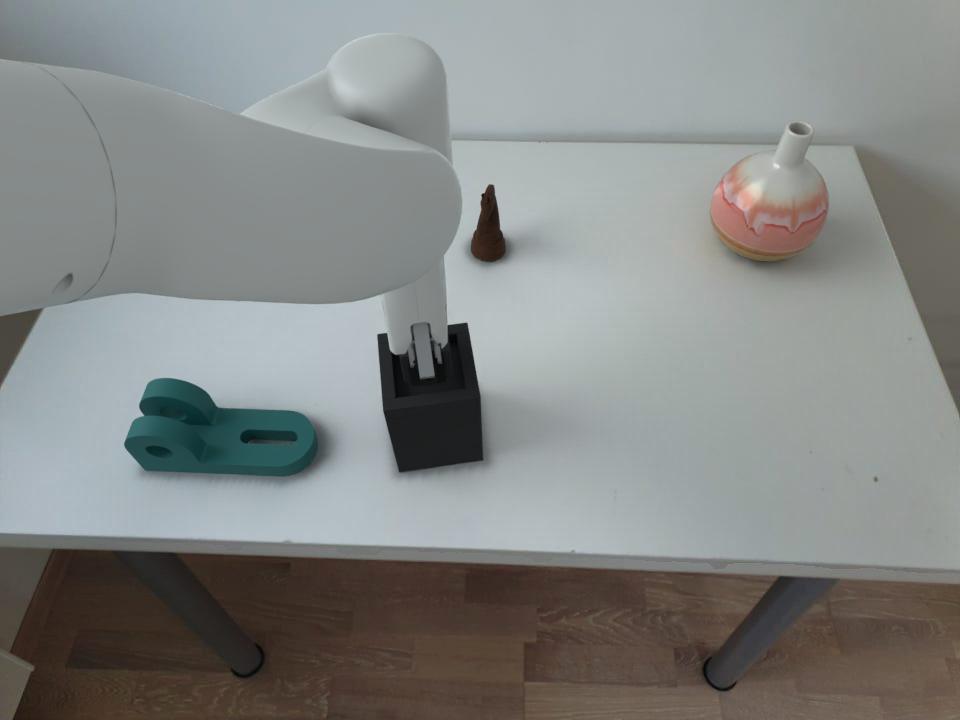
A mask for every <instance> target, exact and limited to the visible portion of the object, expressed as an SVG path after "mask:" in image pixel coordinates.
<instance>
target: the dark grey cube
mask: <svg viewBox="0 0 960 720" xmlns="http://www.w3.org/2000/svg"><path fill="white" fill-rule="evenodd" d="M430 345H431V350H433V349H434V344H433V343H432V344H430ZM440 351H441V352H443V355H444V363H445V372H446V377H447V376H453V371H452V360H451V350H450V343H449V337H448V342H447V344H446V345H445V346H444V347H443V348H441V346H440ZM414 352H416V346H414ZM399 356H400V361H401V366H402V372H403V377H404V381H405V382H410V381H411V379H410V374H409V368H408V363H407V357H409V355H408V350H407V352H406V353H405V354H399Z"/></svg>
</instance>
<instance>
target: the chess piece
mask: <svg viewBox="0 0 960 720" xmlns="http://www.w3.org/2000/svg"><path fill="white" fill-rule="evenodd" d="M480 196H481V200H480V212H479V216H478V219H477V223H476V224H477V225H476V229H474V232H473V234H472V238H471V240H470V252H471V254H472V255H473V257H474V258H476V259H477V260H478V261H481V262H485V263H487V262H496V261H497V260H498V261H499V260H500V259H501V258H502V257H503V256H504V254H505V253H506V249H507V247H506V246H507V245H506V240H505V237H504V233H503V231H502V229H501V220H500V212H499V205H498V200H497V196H496V188H495V185H494V184H491V183H489V184H488V185H487V187H486V188H485V191H484V192H482V193H481V195H480Z"/></svg>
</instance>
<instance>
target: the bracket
mask: <svg viewBox="0 0 960 720" xmlns="http://www.w3.org/2000/svg"><path fill="white" fill-rule="evenodd" d="M138 408H139V410H140V412H141V414H142V416H138V417H136V418H134V420H132V422H131V424H130V427H129V430H128V432H127V435H126V438H125V440H124V441H123V445H124V449H125V450H126V452H128V453H129V455H130V456H131V457H132V458H133V459H134V460H135V461H136V462H137V464H138V465H139V466H140V467H141V468H142V469H143V470H144V471H146V472H166V473H167V472H168V473H191V474H195V473H196V474H216V475H238V476H240V475H241V476H242V475H243V476H262V477H263V476H266V477H289V476H293V475H295V474H298V473H301V472H302V471H303V470H305V469H306V468H307V467H308V466H310V464H311V463H312V462H313V461H314V459H315V458H316V455H317V453H318V451H319V438H318V435H317V433H316V431H315V428H314V426H313V423H312V421H310V419H309V418H308V417H307V416H306V415H305V414H303V413H301V412H299V411H295V410H290V409H289V410H287V409H285V410H284V409H264V408H263V409H261V408H260V409H259V408H234V407H233V408H231V407H219V406H217V404H216V402H215V401H214V400H213V399H212V397H211V395H210V394H209V393H208V392H207V391H206V390H205V389H203V388H202V387H200V386H198V385H197V384H194V383H193V382H189V381H186V380H183V379H178V378H172V377H160V378H155V379H152V380H150V381H148V382H147V385H145V388H144V391H143V394H142V396H141V399H140V402H139V404H138ZM255 440H256V441H257V440H258V441H280V442H281V441H282V442H293V443H292V444H276V443H275V444H273V443H250V442H251V441H255Z"/></svg>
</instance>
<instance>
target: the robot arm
mask: <svg viewBox="0 0 960 720" xmlns="http://www.w3.org/2000/svg"><path fill="white" fill-rule="evenodd" d="M449 97H450V95H449V83H448V76H447V71H446V68H445V66H444V62H443V60H442V58H441V57H440V55H439V53H438V52H437V51H436V50H435V49H434V48H433V47H432V46H431V45H429V43H427V42H425V41H424V40H421V39H418V38H416V37H414V36H411V35H407V34H404V33H395V32H382V33H381V32H380V33H373V34H368V35H365V36H361V37H358V38H355V39H353V40H351V41H349V42H347V43H346V44H345V45H343V46H341V47H340V48H339V49H338V50H337V51H335V52H334V54H333V55H332V56H331V58H330V59H329V61H328V63H327V64H326V67H325V68H323V69H322V70H320V71H318V72H316V73H315V74H313V75H311V76H309V77H307V78H304V79H302V80H301V81H298V82H296V83H294V84H292V85H290V86H288V87H285V88H284V89H281V90H278V91H277V92H275V93H273V94H270V95H267V96H266V97H264V98H262V99H260V100H259V101H257V102H255V103H253V104H252V105H250V106H249V107H247V108H245V109H244V110H243V111H242V112H240V113H238V112H236V111H233V110H230V109H227V108H224V107H221V106H218V105H216V104H213V103H210V102H208V101H205V100H202V99H199V98H196V97H193V96H191V95H188V94H185V93H181V92H178V91H176V90H172V89H168V88H165V87H161V86H157V85H154V84H152V83H151V84H150V83H147V82H143V81H139V80H136V79H132V78H128V77H124V76H120V75H116V74H111V73H107V72H103V71H98V70H92V69H85V68H77V67H69V66H68V67H67V66H59V65H51V64H44V63H37V62H30V61H22V60H10V59H4V58H0V317H3V316H8V315H9V316H10V315H15V314H19V313H25V312H30V311H35V310H40V309H41V310H42V309H46V308H51V307H55V306H62V305H66V304H67V305H68V304H72V303H78V302H83V301H88V300H89V301H90V300H94V299H98V298H99V299H100V298H104V297H111V296H116V295H127V294H128V295H129V294H142V295H151V296H153V295H154V296H159V297H161V296H162V297H169V298H171V297H172V298H178V299H188V300H202V301H203V300H204V301H227V302H228V301H232V302H255V303H256V302H257V303H274V304H294V305H295V304H296V305H336V304H346V303H353V302H359V301H364V300H367V299H371V298H375V297H377V296H379V297H380V302H381V307H382V313H383V318H384V323H385V324H384V325H385V329H386V333H387V335H388V341H389V347H390V351H391V352H392V353H394V354H395V355H398V354H405V353H406V352H407V350H408V355H409V357H407V363H408V368H409V374H410V379H411V384H412V386H421V385H422V386H432V385H435V384H436V383H443V382H445V381H446V372H445V363H444V355H443V352H441V351H440V346H441V348H443V347H444V346H445V345H446V344H447V342H448V328H447V325H448V300H447V299H448V298H447V281H446V280H447V279H446V265H445V255H446V254H447V252H448V250H449V249H450V248H451V246H452V244H453V242H454V240H455V238H456V235H457V233H458V230H459V228H460V224H461V218H462V213H463V193H462V186H461V183H460V179H459V176H458V174H457V172H456V169H455V167H454V158H453V157H454V156H453V143H452V127H451V126H452V125H451V112H450V98H449ZM432 343H433V344H434V349H433V350H431V345H430V344H432ZM414 346H416V352H414Z"/></svg>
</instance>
